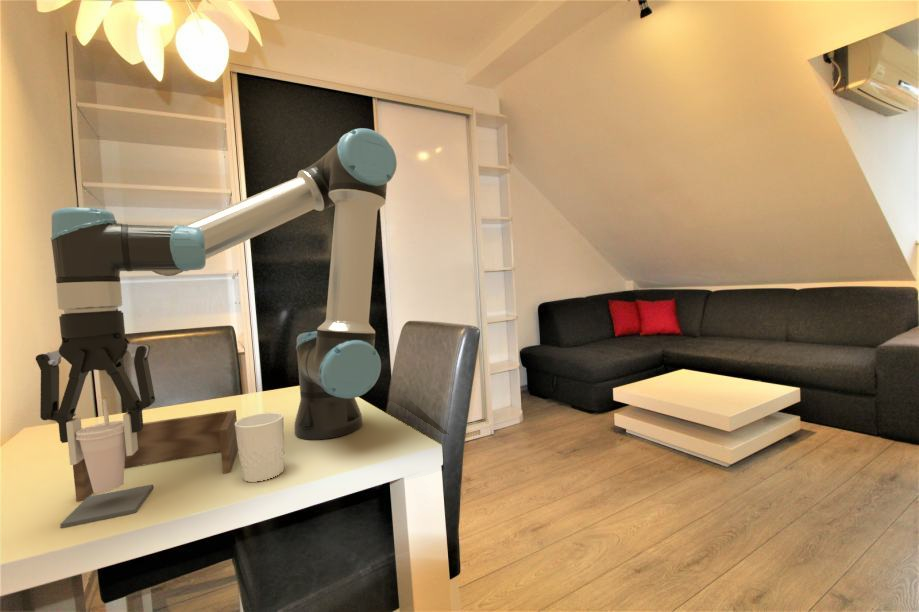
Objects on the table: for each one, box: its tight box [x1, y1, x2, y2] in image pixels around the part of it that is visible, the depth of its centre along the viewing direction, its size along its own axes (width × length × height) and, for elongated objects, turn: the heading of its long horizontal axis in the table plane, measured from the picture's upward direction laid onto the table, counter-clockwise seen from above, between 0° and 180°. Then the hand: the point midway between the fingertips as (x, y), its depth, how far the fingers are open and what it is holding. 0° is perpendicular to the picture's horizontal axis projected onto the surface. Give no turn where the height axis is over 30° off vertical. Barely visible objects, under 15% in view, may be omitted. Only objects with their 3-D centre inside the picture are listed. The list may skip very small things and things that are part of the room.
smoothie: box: [76, 398, 126, 494], centre depth 67 cm, size 6×6×14 cm
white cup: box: [235, 412, 285, 483], centre depth 76 cm, size 8×8×10 cm
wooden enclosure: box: [72, 409, 238, 502], centre depth 80 cm, size 22×14×8 cm, turn 112°
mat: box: [59, 484, 154, 529], centre depth 67 cm, size 9×9×1 cm
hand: (105, 456), depth 67 cm, fingers closed on smoothie, 6 cm apart
